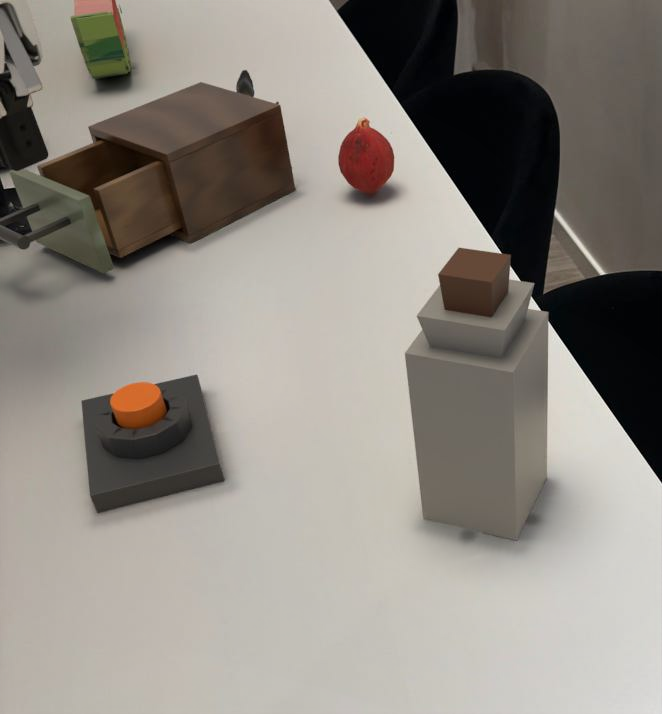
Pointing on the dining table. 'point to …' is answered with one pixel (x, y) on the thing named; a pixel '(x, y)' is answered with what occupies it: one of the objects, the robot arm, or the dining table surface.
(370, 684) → the dining table surface
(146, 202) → the wooden drawer
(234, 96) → the drawer cabinet
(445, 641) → the dining table surface
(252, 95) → the eagle figurine
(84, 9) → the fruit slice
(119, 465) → the block
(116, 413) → the button
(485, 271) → the perfume bottle
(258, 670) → the dining table surface
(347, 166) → the pomegranate
